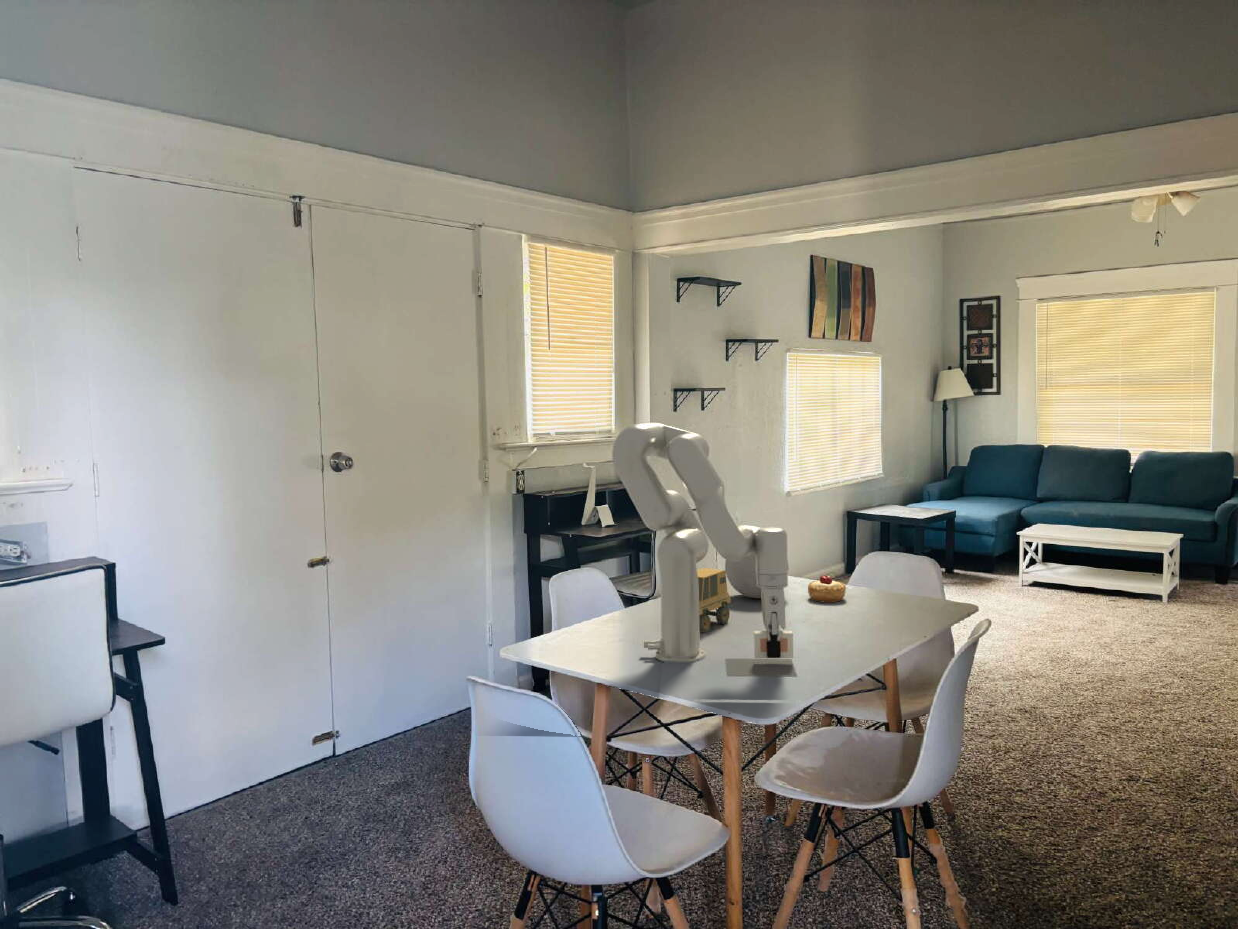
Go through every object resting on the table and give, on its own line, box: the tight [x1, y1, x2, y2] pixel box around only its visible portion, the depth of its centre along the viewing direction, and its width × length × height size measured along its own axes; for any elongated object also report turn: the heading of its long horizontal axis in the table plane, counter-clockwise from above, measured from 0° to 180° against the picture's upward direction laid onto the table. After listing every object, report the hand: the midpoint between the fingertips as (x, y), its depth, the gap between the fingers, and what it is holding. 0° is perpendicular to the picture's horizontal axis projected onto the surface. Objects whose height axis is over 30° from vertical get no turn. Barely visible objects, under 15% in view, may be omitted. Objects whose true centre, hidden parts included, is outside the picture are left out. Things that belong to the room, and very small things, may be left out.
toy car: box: [697, 567, 732, 633], centre depth 262 cm, size 10×19×15 cm, turn 145°
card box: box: [753, 630, 794, 659], centre depth 222 cm, size 9×3×6 cm, turn 85°
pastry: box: [807, 571, 847, 603], centre depth 293 cm, size 12×12×9 cm
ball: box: [724, 554, 789, 599], centre depth 297 cm, size 20×20×20 cm
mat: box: [725, 658, 798, 678], centre depth 220 cm, size 16×14×1 cm
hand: (773, 654), depth 223 cm, fingers closed on card box, 2 cm apart
